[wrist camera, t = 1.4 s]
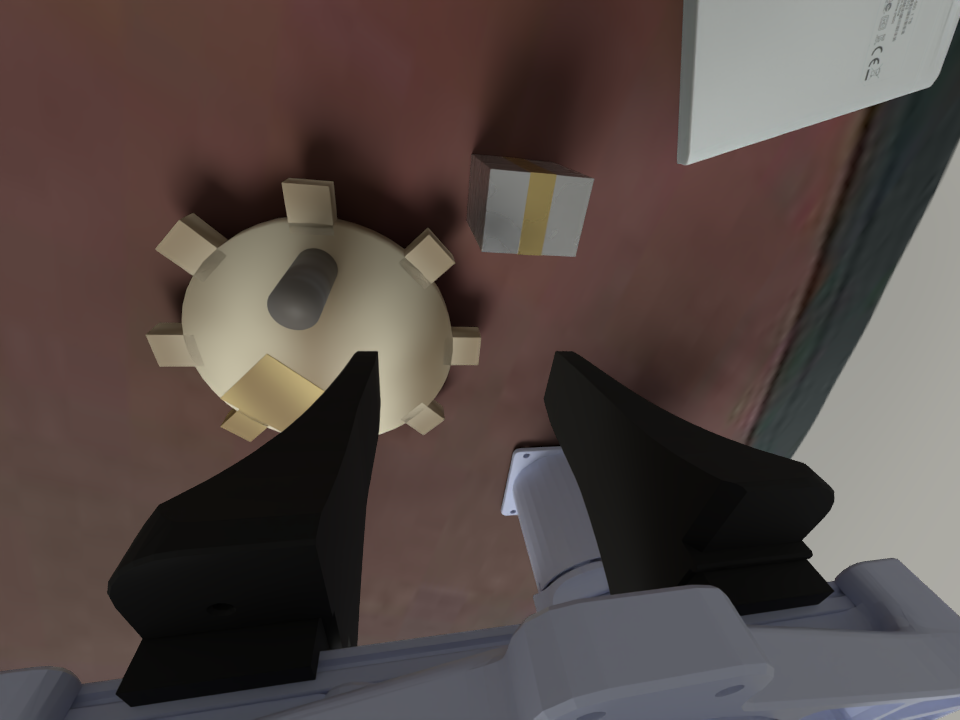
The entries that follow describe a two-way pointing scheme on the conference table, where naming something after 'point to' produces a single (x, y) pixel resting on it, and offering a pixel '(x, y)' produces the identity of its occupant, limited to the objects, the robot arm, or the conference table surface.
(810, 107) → the external hard drive
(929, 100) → the conference table surface
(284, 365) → the sprocket
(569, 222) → the white small box
